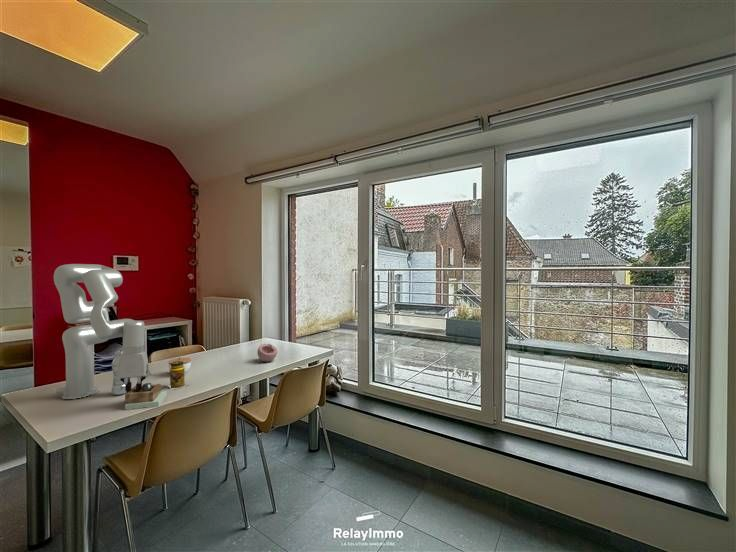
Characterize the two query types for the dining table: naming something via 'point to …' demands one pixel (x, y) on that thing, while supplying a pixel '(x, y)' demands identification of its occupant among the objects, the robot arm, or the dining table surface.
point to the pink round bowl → (266, 352)
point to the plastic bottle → (117, 385)
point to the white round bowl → (185, 362)
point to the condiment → (177, 375)
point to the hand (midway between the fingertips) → (133, 391)
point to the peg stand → (148, 404)
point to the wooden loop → (142, 394)
